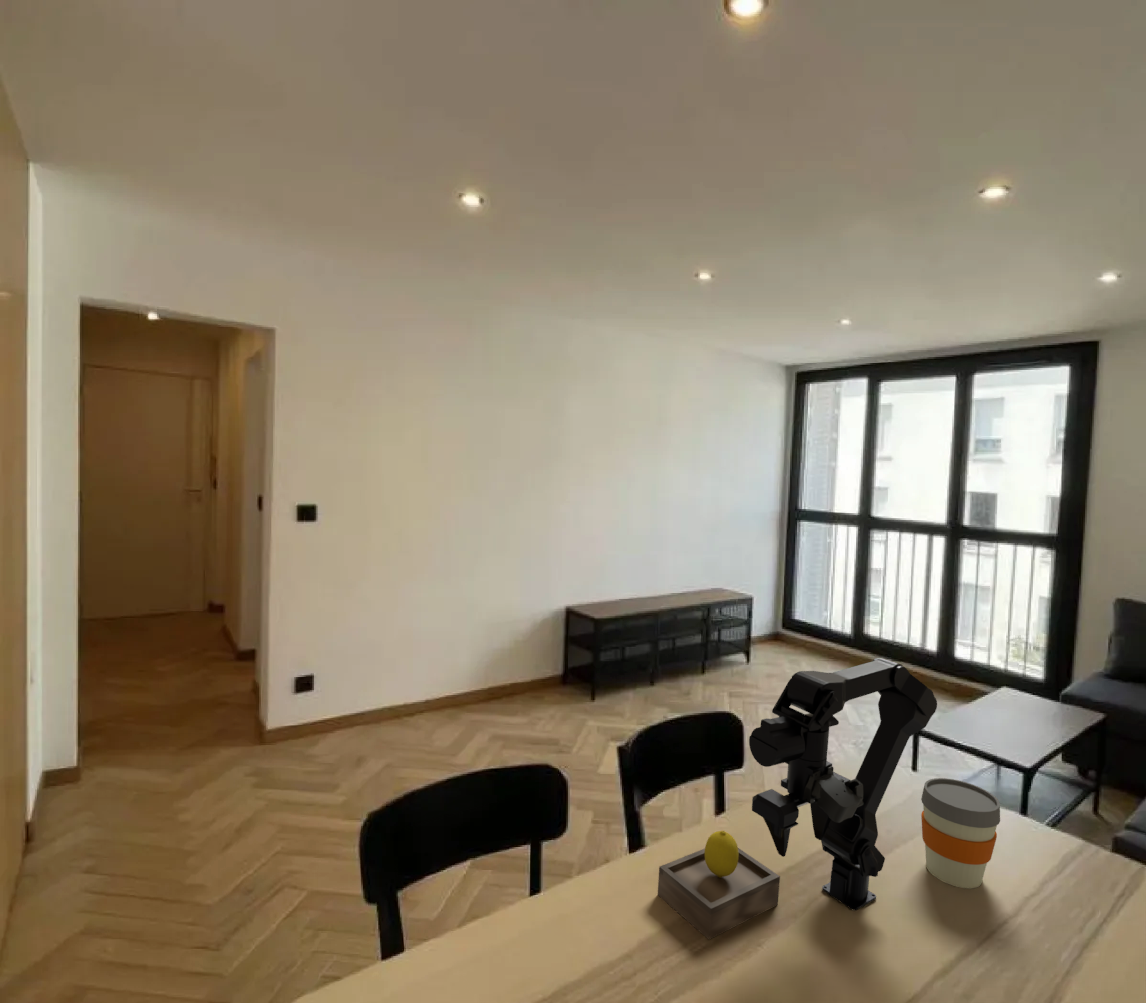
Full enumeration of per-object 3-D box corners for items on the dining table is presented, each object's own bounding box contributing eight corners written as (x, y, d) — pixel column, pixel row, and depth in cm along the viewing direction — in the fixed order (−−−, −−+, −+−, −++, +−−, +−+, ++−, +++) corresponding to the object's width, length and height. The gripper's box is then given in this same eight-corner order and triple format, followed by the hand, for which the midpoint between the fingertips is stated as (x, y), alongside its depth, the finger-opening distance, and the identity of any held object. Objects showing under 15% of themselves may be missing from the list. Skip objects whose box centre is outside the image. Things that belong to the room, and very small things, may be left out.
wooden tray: (724, 866, 123) (726, 839, 123) (777, 904, 113) (779, 876, 113) (657, 894, 114) (659, 866, 114) (708, 939, 104) (710, 908, 104)
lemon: (737, 890, 110) (740, 843, 110) (702, 884, 111) (705, 837, 111) (736, 870, 116) (739, 825, 115) (703, 864, 117) (706, 819, 116)
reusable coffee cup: (979, 905, 116) (987, 820, 115) (903, 868, 125) (911, 790, 124) (1003, 876, 124) (1011, 798, 123) (931, 844, 133) (938, 771, 132)
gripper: (813, 790, 96) (805, 894, 98) (888, 761, 107) (880, 856, 108) (753, 758, 105) (746, 853, 107) (827, 734, 116) (820, 822, 117)
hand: (800, 846), depth 109 cm, fingers open, 9 cm apart
